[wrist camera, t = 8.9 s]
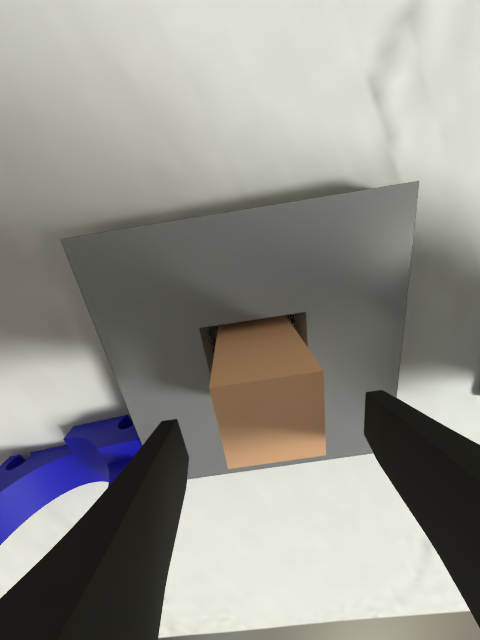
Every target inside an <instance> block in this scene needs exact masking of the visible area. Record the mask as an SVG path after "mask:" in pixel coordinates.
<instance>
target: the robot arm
mask: <svg viewBox="0 0 480 640" xmlns="http://www.w3.org/2000/svg"><path fill="white" fill-rule="evenodd" d="M364 435H365V437H366V439H367V441H368V443H369V445H370V447H371V449H372V451H373V453H374V455H375V457H376V459H377V461H378V462H379V464H380V466H381V467H382V469H383V470H384V472H385V473H386V475H387V476H388V478H389V479H390V481H391V482H392V484H393V485H394V487H395V489H396V490H397V492H398V493H399V495H400V496H401V498H402V499H403V501H404V502H405V504H406V505H407V507H408V508H409V510H410V511H411V513H412V514H413V516H414V517H415V519H416V520H417V522H418V523H419V525H420V526H421V528H422V529H423V531H424V532H425V534H426V535H427V537H428V538H429V540H430V542H431V543H432V545H433V546H434V548H435V550H436V551H437V553H438V554H439V556H440V558H441V560H442V561H443V563H444V565H445V567H446V568H447V570H448V572H449V574H450V575H451V577H452V579H453V581H454V582H455V584H456V586H457V588H458V590H459V591H460V593H461V595H462V597H463V598H464V600H465V602H466V604H467V606H468V607H469V609H470V611H471V613H472V615H473V616H474V618H475V620H476V622H477V624H478V625H479V627H480V445H479V444H477V443H475V442H473V441H471V440H469V439H468V438H466V437H464V436H462V435H460V434H458V433H457V432H455V431H453V430H451V429H449V428H448V427H446V426H444V425H442V424H441V423H439V422H437V421H435V420H434V419H432V418H430V417H428V416H427V415H425V414H423V413H421V412H420V411H418V410H416V409H415V408H413V407H411V406H409V405H408V404H406V403H404V402H403V401H401V400H399V399H397V398H396V397H394V396H392V395H390V394H389V393H387V392H385V391H383V390H378V391H371V392H366V395H365V416H364ZM188 465H189V455H188V452H187V449H186V446H185V442H184V439H183V436H182V433H181V429H180V426H179V423H178V420H177V419H172V420H165V421H161V422H160V424H159V425H158V426H157V427H156V429H155V430H154V431H153V433H152V434H151V435H150V436H149V438H148V439H147V440H146V441H145V443H144V444H143V445H142V447H141V448H140V449H139V450H138V452H137V453H136V454H135V456H134V457H133V458H132V459H131V461H130V462H129V463H128V464H127V465H126V467H125V468H124V469H123V470H122V472H121V473H120V474H119V475H118V477H117V478H116V479H115V480H114V481H113V482H112V484H111V485H110V486H109V487H108V488H107V489H106V491H105V492H104V493H103V494H102V495H101V496H100V498H99V499H98V500H97V501H96V502H95V503H94V505H93V506H92V507H91V508H90V509H89V510H88V511H87V512H86V513H85V515H84V516H83V517H82V518H81V519H80V520H79V521H78V522H77V523H76V524H75V525H74V526H73V528H72V529H71V530H70V531H69V532H68V533H67V534H66V535H65V536H64V537H63V538H62V539H61V540H60V541H59V542H58V543H57V544H56V545H55V546H54V547H53V548H52V549H51V550H50V551H49V552H48V553H47V554H46V555H45V556H44V557H43V558H42V559H41V560H40V561H39V562H38V563H37V564H36V565H35V566H34V567H33V568H32V569H31V570H30V571H29V572H28V573H27V574H26V575H25V576H23V577H22V578H21V579H20V580H19V581H18V582H17V583H16V584H15V585H14V586H13V587H12V588H11V589H10V590H9V591H8V592H7V593H6V594H5V595H4V596H3V597H2V598H0V640H158V634H159V627H160V620H161V613H162V606H163V599H164V592H165V586H166V581H167V576H168V570H169V565H170V561H171V556H172V551H173V547H174V542H175V538H176V533H177V528H178V524H179V519H180V514H181V510H182V505H183V500H184V495H185V490H186V484H187V475H188Z"/></svg>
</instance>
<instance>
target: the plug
mask: <svg viewBox="0 0 480 640" xmlns="http://www.w3.org/2000/svg"><path fill="white" fill-rule="evenodd" d="M209 390H210V394H211V398H212V402H213V407H214V411H215V415H216V419H217V424H218V428H219V432H220V436H221V441H222V445H223V449H224V454H225V458H226V462H227V466H228V469H232V468H239V467H246V466H254V465H261V464H268V463H275V462H282V461H289V460H296V459H303V458H311V457H318V456H325V455H326V436H325V399H324V371H323V369H322V368H321V366H320V365H319V363H318V362H317V360H316V359H315V357H314V356H313V354H312V353H311V352H310V350H309V349H308V347H307V346H306V344H305V343H304V341H303V340H302V338H301V337H300V335H299V334H298V333H297V331H296V330H295V328H294V327H293V325H292V324H291V322H290V321H289V319H288V318H287V316H286V315H282V316H275V317H269V318H262V319H255V320H249V321H242V322H236V323H229V324H223V325H218V331H217V338H216V344H215V351H214V358H213V365H212V371H211V378H210V385H209Z"/></svg>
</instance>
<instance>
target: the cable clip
mask: <svg viewBox="0 0 480 640" xmlns="http://www.w3.org/2000/svg"><path fill="white" fill-rule="evenodd" d="M64 441H65V442H66V444H67V445H63V446H59V447H54V448H49V449H44V450H40V451H35V452H31V455H30V457H29V458H28V459H27V460H26V461H25V460H24V459H23V458H22V456H21V455H16V456H11V457H9V458H8V459H7V460H6V461H5V462H4V463H3V464H2V465H1V466H0V545H1V544H2V543H3V542H4V541H5V540H6V539H7V538H8V537H9V536H10V535H11V534H12V533H13V532H14V531H15V530H16V529H17V528H18V527H19V526H20V525H21V524H22V523H24V522H25V521H26V520H27V519H28V518H29V517H31V516H32V515H33V514H34V513H36V512H37V511H38V510H39V509H41V508H42V507H43V506H45V505H46V504H48V503H49V502H51V501H52V500H54V499H55V498H57V497H59V496H60V495H62V494H64V493H66V492H67V491H69V490H72V489H74V488H76V487H79V486H81V485H84V484H87V483H92V482H99V481H106V482H109V485H108V487H109V486H110V485H111V484H112V482H113V481H114V480H115V479H116V478H117V477H118V475H119V474H120V473H121V472H122V470H123V469H124V468H125V467H126V465H127V464H128V463H129V462H130V461H131V459H132V458H133V457H134V456H135V454H136V453H137V452H138V450H139V449H140V448H141V447H142V443H141V441H140V438H139V436H138V433H137V431H136V428H135V426H134V425H133V423H132V421H131V419H130V418H129V416H128V415H125V416H121V417H116V418H111V419H107V420H102V421H97V422H93V423H88V424H83V425H79V426H74V427H73V428H72V429H71V430H70V432H69V433H68V434H67V435H66V436H65V438H64Z"/></svg>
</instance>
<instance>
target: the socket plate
mask: <svg viewBox="0 0 480 640" xmlns="http://www.w3.org/2000/svg"><path fill="white" fill-rule="evenodd" d="M418 188H419V181H416V182H409V183H403V184H397V185H391V186H385V187H379V188H373V189H366V190H360V191H354V192H348V193H342V194H336V195H329V196H323V197H317V198H311V199H305V200H299V201H292V202H286V203H280V204H274V205H268V206H262V207H255V208H249V209H243V210H237V211H231V212H225V213H218V214H212V215H206V216H200V217H194V218H188V219H181V220H175V221H169V222H163V223H157V224H151V225H145V226H138V227H132V228H126V229H120V230H114V231H108V232H101V233H95V234H89V235H83V236H77V237H71V238H64V239H60V240H61V243H62V245H63V248H64V250H65V253H66V255H67V258H68V260H69V263H70V265H71V268H72V270H73V273H74V275H75V278H76V280H77V283H78V285H79V288H80V290H81V293H82V295H83V298H84V300H85V303H86V305H87V308H88V310H89V313H90V315H91V318H92V320H93V323H94V325H95V328H96V330H97V333H98V335H99V338H100V340H101V343H102V346H103V348H104V351H105V353H106V356H107V358H108V361H109V363H110V366H111V368H112V371H113V373H114V376H115V378H116V381H117V383H118V386H119V388H120V391H121V393H122V396H123V398H124V401H125V403H126V406H127V408H128V411H129V413H130V416H131V418H132V421H133V423H134V426H135V428H136V431H137V433H138V436H139V438H140V441H141V443H142V445H143V444H144V443H145V441H146V440H147V439H148V438H149V436H150V435H151V434H152V433H153V431H154V430H155V429H156V427H157V426H158V425H159V424H160V422H161V421H165V420H172V419H177V420H178V423H179V426H180V429H181V433H182V436H183V439H184V442H185V446H186V449H187V452H188V455H189V465H188V475H187V479H193V478H200V477H207V476H214V475H221V474H228V473H236V472H243V471H250V470H257V469H264V468H271V467H279V466H286V465H293V464H300V463H307V462H314V461H321V460H329V459H336V458H343V457H350V456H357V455H364V454H372V453H373V451H372V449H371V447H370V445H369V443H368V441H367V439H366V437H365V435H364V416H365V395H366V392H371V391H378V390H383V391H385V392H387V393H389V394H390V395H392V396H394V397H397V387H398V378H399V368H400V359H401V349H402V340H403V330H404V321H405V311H406V302H407V292H408V283H409V273H410V264H411V255H412V245H413V236H414V226H415V217H416V207H417V198H418ZM288 314H295V324H296V331H297V333H298V334H299V335H300V337H301V338H302V340H303V341H304V343H305V344H306V346H307V347H308V349H309V350H310V352H311V353H312V354H313V356H314V357H315V359H316V360H317V362H318V363H319V365H320V366H321V368H322V369H323V371H324V399H325V436H326V455H325V456H318V457H311V458H303V459H296V460H289V461H282V462H275V463H268V464H261V465H254V466H246V467H239V468H232V469H228V466H227V462H226V458H225V454H224V449H223V445H222V441H221V436H220V432H219V428H218V424H217V419H216V415H215V411H214V407H213V402H212V398H211V394H210V390H209V385H210V378H211V371H212V365H213V358H214V355H213V351H212V346H211V341H210V337H209V332H208V327H210V326H216V325H223V324H229V323H236V322H242V321H249V320H255V319H262V318H269V317H275V316H282V315H288Z"/></svg>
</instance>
